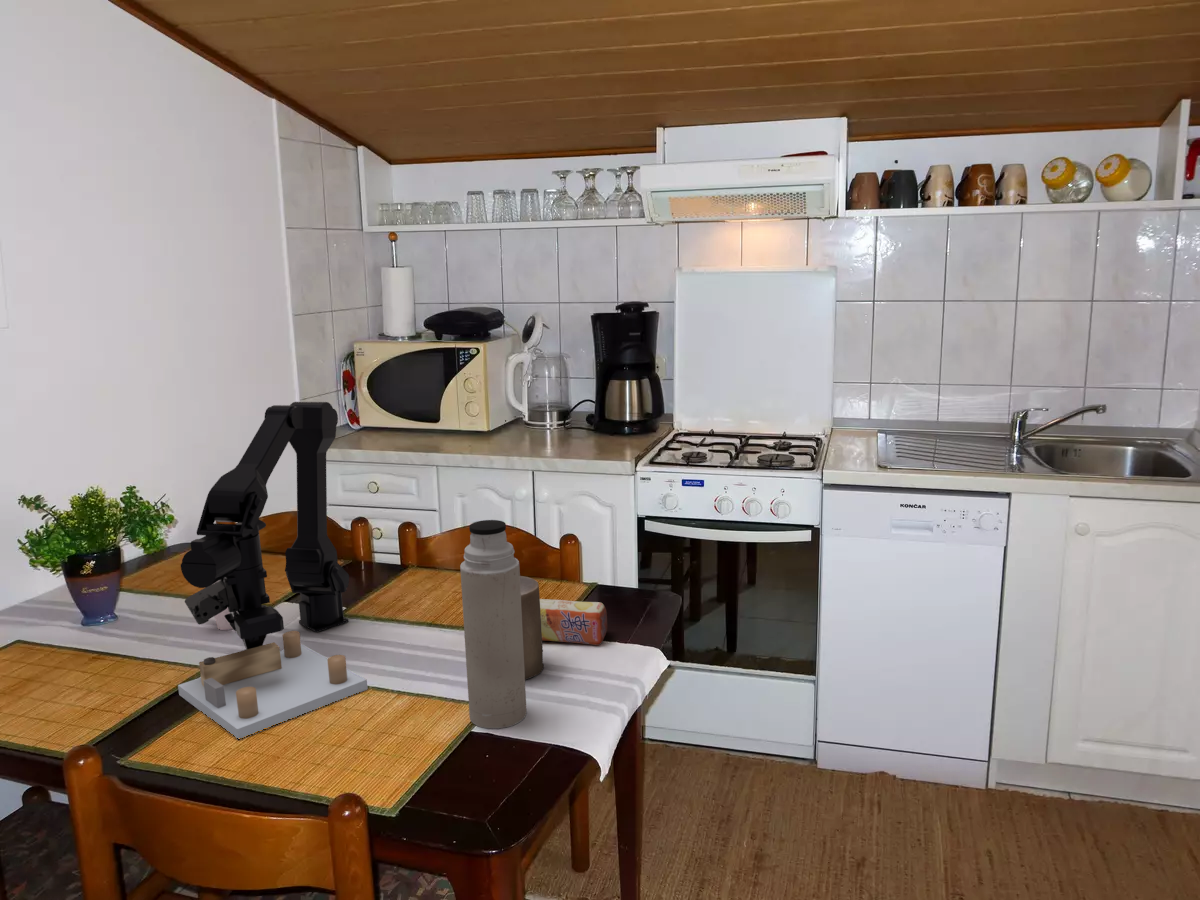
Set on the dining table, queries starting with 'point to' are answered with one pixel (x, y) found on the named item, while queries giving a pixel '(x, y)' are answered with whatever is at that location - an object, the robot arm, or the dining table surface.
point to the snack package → (573, 621)
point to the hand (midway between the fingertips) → (253, 659)
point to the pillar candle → (531, 627)
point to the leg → (241, 664)
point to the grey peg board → (275, 690)
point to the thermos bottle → (493, 627)
